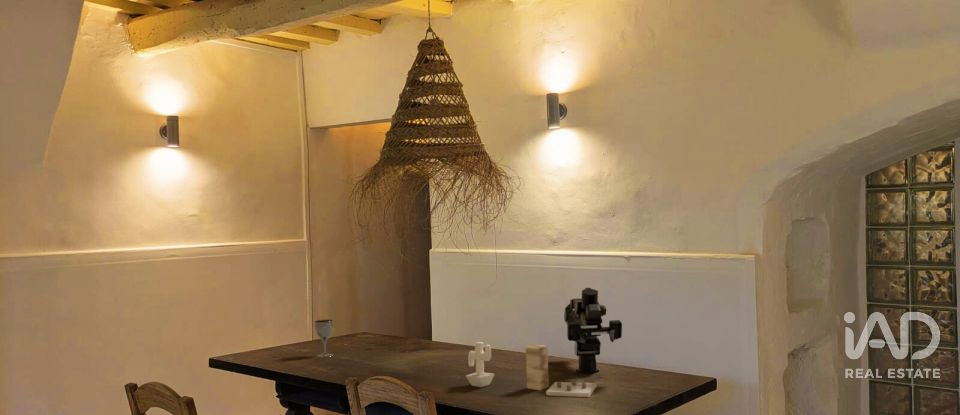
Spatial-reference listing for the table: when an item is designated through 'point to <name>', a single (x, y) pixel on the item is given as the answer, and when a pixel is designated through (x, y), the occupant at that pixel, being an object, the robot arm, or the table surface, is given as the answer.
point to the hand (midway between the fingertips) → (599, 341)
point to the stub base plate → (571, 389)
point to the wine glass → (324, 333)
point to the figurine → (479, 365)
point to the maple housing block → (537, 367)
